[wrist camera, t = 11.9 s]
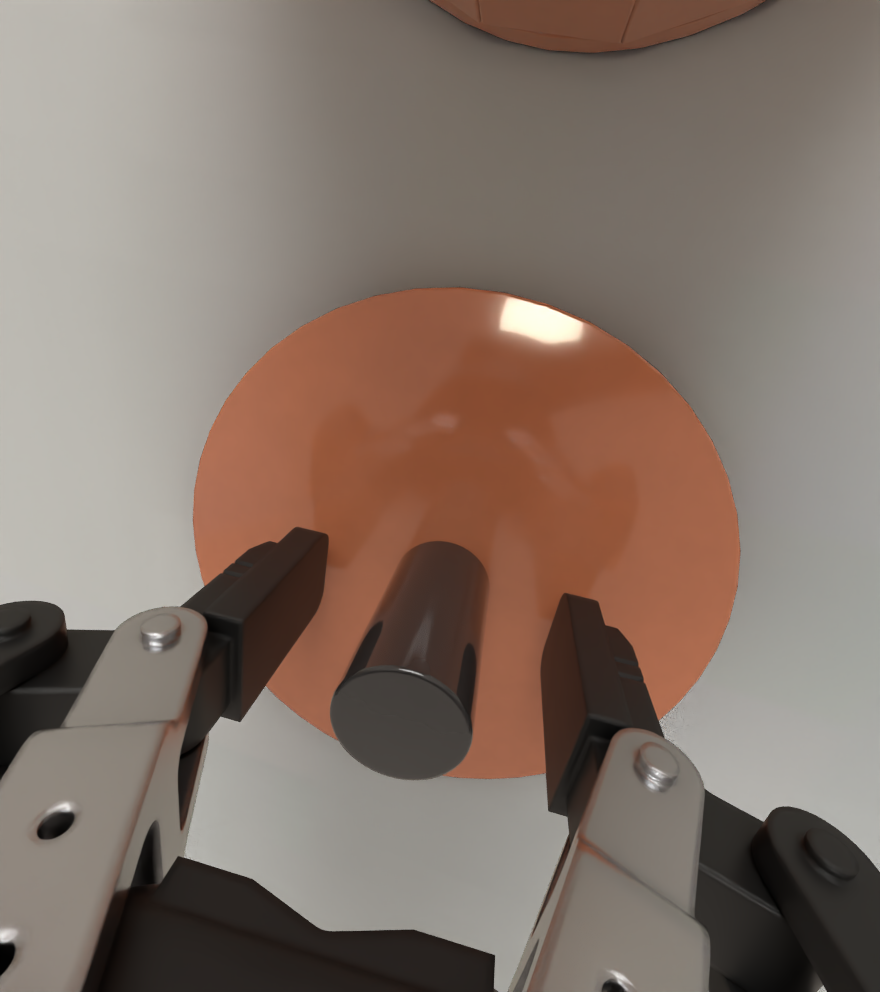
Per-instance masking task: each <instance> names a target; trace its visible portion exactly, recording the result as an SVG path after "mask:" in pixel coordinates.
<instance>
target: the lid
mask: <svg viewBox="0 0 880 992" xmlns="http://www.w3.org/2000/svg"><path fill="white" fill-rule="evenodd" d="M193 527H194V538H195V548H196V554H197V558H198V563H199V567H200V572H201V576H202V580H203V583H204V585H205V586H206V585H207V584H208V583H209V582H210V581H212V580H213V579H214V578H215V577H216V576H218V575H219V574H220V573H223V571H224V570H225V569H226V568H227V567H228V566H229V565H231V564H232V563H235V560H237V559H238V558H239V557H240V556H241V555H242V554H244V553H245V552H246V551H247V550H248V549H250V548H253V547H255V546H258V545H260V544H263V543H265V542H268V541H272V542H276V543H278V542H279V541H280V540H281V539H282V538H284V537H285V536H286V535H287V534H288V533H289V532H290V531H291V530H292V529H293V528H295V527H301V528H306V529H310V530H314V531H318V532H322V533H326V534H327V535H328V537H329V546H328V556H327V565H326V575H325V585H324V592H323V596H322V600H321V603H320V606H319V608H318V610H317V612H316V614H315V615H314V617H313V618H312V620H311V621H310V623H309V624H308V625H307V627H306V628H305V630H304V631H303V633H302V634H301V636H300V637H299V638H298V640H297V641H296V643H295V644H294V646H293V647H292V648H291V650H290V651H289V653H288V654H287V656H286V657H285V658H284V660H283V661H282V663H281V664H280V666H279V667H278V669H277V670H276V671H275V673H274V674H273V676H272V677H271V679H270V680H269V681H268V683H267V684H266V687H267V688H268V689H269V690H270V691H271V692H272V693H273V694H274V695H275V696H276V697H277V698H278V699H279V700H281V701H282V702H283V703H284V704H285V705H287V706H288V707H289V708H290V709H291V710H293V711H294V712H295V713H296V714H297V715H299V716H300V717H301V718H303V719H304V720H306V721H307V722H309V723H310V724H312V725H313V726H315V727H316V728H317V729H319V730H320V731H322V732H323V733H325V734H327V735H329V736H330V737H332V738H334V739H336V740H338V741H339V742H340V744H341V745H342V746H343V748H344V749H345V750H346V751H347V752H348V753H349V754H350V755H351V756H352V757H353V758H354V759H356V760H357V761H358V762H360V763H361V764H363V765H364V766H366V767H368V768H369V769H371V770H373V771H375V772H378V773H380V774H383V775H386V776H389V777H393V778H397V779H403V780H426V779H432V778H436V777H439V776H450V777H457V778H474V779H500V778H518V777H525V776H531V775H538V774H544V773H546V763H545V746H544V729H543V712H542V695H541V678H540V667H541V659H542V653H543V649H544V646H545V643H546V640H547V637H548V634H549V631H550V628H551V625H552V622H553V619H554V616H555V613H556V610H557V607H558V604H559V601H560V599H561V597H562V595H563V594H564V593H569V594H573V595H577V596H581V597H585V598H589V599H593V600H597V601H598V602H599V605H600V609H601V612H602V616H603V619H604V623H605V625H607V626H611V627H615V628H618V629H619V630H620V632H621V633H622V634H623V635H624V636H625V638H626V639H627V640H628V641H629V642H630V644H631V645H632V646H633V649H634V652H635V655H636V658H637V660H638V663H639V665H638V667H639V668H640V669H641V672H642V675H643V678H644V683H646V686H647V689H648V692H649V695H650V698H651V701H652V704H653V706H654V709H655V712H656V715H657V718H658V721H659V720H660V719H661V718H662V717H663V716H664V715H666V714H667V713H668V712H669V711H670V710H671V709H672V708H673V707H674V706H675V705H677V704H678V703H679V702H680V701H681V699H682V698H683V697H684V696H685V695H686V693H687V692H688V691H689V690H690V689H691V687H692V686H693V685H694V684H695V683H696V681H697V680H698V679H699V678H700V676H701V675H702V673H703V671H704V670H705V668H706V667H707V665H708V663H709V662H710V660H711V658H712V657H713V655H714V654H715V652H716V650H717V648H718V646H719V643H720V641H721V639H722V636H723V634H724V631H725V629H726V627H727V624H728V622H729V619H730V615H731V611H732V607H733V603H734V599H735V595H736V591H737V587H738V575H739V563H740V540H739V528H738V516H737V511H736V507H735V503H734V499H733V495H732V491H731V487H730V483H729V479H728V476H727V474H726V471H725V469H724V467H723V464H722V462H721V460H720V457H719V455H718V453H717V450H716V448H715V446H714V444H713V441H712V440H711V438H710V436H709V435H708V433H707V432H706V430H705V429H704V427H703V425H702V424H701V422H700V421H699V419H698V417H697V416H696V414H695V413H694V411H693V410H692V408H691V406H690V405H689V404H688V403H687V402H686V401H685V400H684V398H683V397H682V396H681V395H680V394H679V393H678V392H677V390H676V389H675V388H674V387H673V386H672V385H671V384H670V382H669V381H668V380H667V379H666V378H665V377H664V376H663V374H662V373H660V372H659V371H658V370H657V369H656V368H654V367H653V366H652V365H651V364H650V363H648V362H647V361H646V360H645V359H644V358H643V357H641V356H640V355H639V354H638V353H637V352H635V351H634V350H633V349H632V348H631V347H629V346H628V345H627V344H625V343H623V342H622V341H620V340H619V339H617V338H615V337H614V336H612V335H610V334H609V333H607V332H606V331H604V330H602V329H601V328H599V327H597V326H596V325H594V324H592V323H591V322H589V321H587V320H584V319H582V318H580V317H577V316H575V315H573V314H570V313H568V312H566V311H563V310H561V309H559V308H556V307H554V306H552V305H549V304H546V303H542V302H539V301H535V300H531V299H528V298H524V297H520V296H516V295H513V294H509V293H505V292H497V291H489V290H480V289H472V288H464V287H446V288H415V289H410V290H404V291H398V292H392V293H387V294H381V295H375V296H372V297H369V298H366V299H363V300H360V301H357V302H354V303H351V304H348V305H345V306H342V307H339V308H336V309H334V310H332V311H330V312H328V313H326V314H324V315H322V316H321V317H319V318H317V319H315V320H313V321H311V322H309V323H307V324H305V325H303V326H301V327H300V328H298V329H297V330H296V331H294V332H293V333H291V334H290V335H289V336H287V337H286V338H285V339H283V340H282V341H280V342H279V343H278V344H276V345H275V346H273V347H272V348H271V349H270V350H269V351H268V352H267V353H266V354H265V355H264V356H263V357H262V358H261V359H260V360H259V361H258V362H257V363H256V364H255V365H254V366H253V367H252V368H251V369H250V370H249V371H248V372H247V373H246V374H245V375H244V377H243V378H242V379H241V381H240V382H239V383H238V385H237V386H236V387H235V389H234V390H233V391H232V393H231V394H230V395H229V397H228V398H227V400H226V401H225V403H224V405H223V407H222V409H221V411H220V412H219V414H218V416H217V418H216V420H215V422H214V424H213V426H212V428H211V430H210V432H209V435H208V438H207V441H206V444H205V447H204V450H203V453H202V456H201V458H200V462H199V468H198V473H197V478H196V484H195V489H194V507H193Z"/></svg>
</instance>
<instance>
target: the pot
mask: <svg viewBox="0 0 880 992" xmlns="http://www.w3.org/2000/svg"><path fill="white" fill-rule="evenodd" d="M430 1H432V2H433V3H435V4H436V5H438V6H439V7H441V8H442V9H444V10H446V11H447V12H449V13H450V14H452V15H453V16H455V17H457V18H458V19H460V20H461V21H463V22H464V23H467V24H469V25H471V26H474V27H476V28H478V29H481V30H483V31H485V32H488V33H490V34H492V35H495V36H497V37H499V38H502V39H504V40H508V41H512V42H516V43H520V44H525V45H529V46H533V47H537V48H541V49H546V50H556V51H571V52H587V53H596V52H606V51H616V50H626V49H637V48H643V47H647V46H651V45H655V44H658V43H662V42H666V41H670V40H674V39H678V38H682V37H686V36H690V35H692V34H695V33H697V32H700V31H702V30H705V29H707V28H710V27H712V26H714V25H717V24H719V23H722V22H724V21H727V20H729V19H732V18H734V17H737V16H739V15H741V14H743V13H745V12H747V11H749V10H750V9H752V8H754V7H756V6H758V5H759V4H761V3H763V2H765V1H767V0H430Z"/></svg>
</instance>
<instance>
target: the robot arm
mask: <svg viewBox="0 0 880 992" xmlns="http://www.w3.org/2000/svg"><path fill="white" fill-rule="evenodd" d="M328 546H329V537H328V535H327V534H326V533H322V532H318V531H314V530H310V529H306V528H301V527H295V528H293V529H292V530H291V531H290V532H289V533H288V534H287V535H286V536H285V537H284V538H282V539H281V540H280V541H279V542H278V543H276V542H272V541H268V542H265V543H263V544H260V545H258V546H255V547H253V548H250V549H248V550H247V551H246V552H245V553H244V554H242V555H241V556H240V557H239V558H238V559H237V560H235V563H232V564H231V565H229V566H228V567H227V568H226V569H225V570H224V571H223V573H220V574H219V575H218V576H216V577H215V578H214V579H213V580H212V581H210V582H209V583H208V584H207V585H206V586H204V587H203V588H202V589H201V590H200V591H199V592H197V593H196V594H195V595H194V596H193V597H191V598H190V599H189V600H188V601H187V602H185V603H184V604H183V605H182V606H181V607H161V608H155V609H151V610H147V611H144V612H141V613H139V614H136V615H134V616H132V617H131V618H129V619H127V620H126V621H124V622H123V623H122V624H121V625H120V626H119V627H118V628H117V629H116V630H67V628H66V622H65V615H64V613H63V611H62V610H61V608H59V607H58V606H56V605H54V604H51V603H48V602H43V601H20V602H13V603H7V604H3V605H0V992H498V991H497V990H495V989H494V967H495V955H493V954H489V953H486V952H483V951H480V950H477V949H474V948H470V947H467V946H464V945H461V944H458V943H454V942H451V941H448V940H445V939H442V938H438V937H435V936H432V935H429V934H426V933H423V932H419V931H416V930H379V931H335V932H332V931H325V930H322V929H319V928H318V927H316V926H314V925H313V924H312V923H310V922H309V921H308V920H306V919H305V918H304V917H302V916H301V915H300V914H298V913H297V912H296V911H294V910H293V909H292V908H290V907H289V906H288V905H286V904H285V903H284V902H282V901H281V900H280V899H278V898H277V897H276V896H274V895H273V894H272V893H270V892H269V891H268V890H266V889H265V888H264V887H262V886H261V885H260V884H258V883H257V882H256V881H254V880H253V879H250V878H247V877H244V876H241V875H238V874H235V873H231V872H228V871H225V870H222V869H219V868H215V867H212V866H209V865H206V864H203V863H199V862H196V861H193V860H190V859H187V858H184V854H185V848H186V843H187V838H188V833H189V829H190V824H191V820H192V815H193V811H194V806H195V802H196V797H197V793H198V789H199V784H200V780H201V775H202V771H203V766H204V762H205V757H206V753H207V748H208V743H209V731H210V730H211V728H212V727H213V726H214V724H215V723H216V722H217V720H218V719H219V718H220V716H221V717H224V718H228V719H231V720H235V721H238V722H241V720H242V719H243V717H244V716H245V714H246V713H247V712H248V710H249V709H250V707H251V706H252V704H253V703H254V702H255V700H256V699H257V697H258V696H259V694H260V693H261V691H262V690H263V689H264V687H265V686H266V684H267V683H268V681H269V680H270V679H271V677H272V676H273V674H274V673H275V671H276V670H277V669H278V667H279V666H280V664H281V663H282V661H283V660H284V658H285V657H286V656H287V654H288V653H289V651H290V650H291V648H292V647H293V646H294V644H295V643H296V641H297V640H298V638H299V637H300V636H301V634H302V633H303V631H304V630H305V628H306V627H307V625H308V624H309V623H310V621H311V620H312V618H313V617H314V615H315V614H316V612H317V610H318V608H319V606H320V603H321V600H322V596H323V592H324V585H325V575H326V565H327V556H328ZM638 665H639V663H638V660H637V658H636V655H635V652H634V649H633V646H632V645H631V644H630V642H629V641H628V640H627V639H626V638H625V636H624V635H623V634H622V633H621V632H620V630H619V629H618V628H615V627H611V626H607V625H605V623H604V619H603V616H602V612H601V609H600V605H599V602H598V601H597V600H593V599H589V598H585V597H581V596H577V595H573V594H569V593H564V594H563V595H562V597H561V599H560V601H559V604H558V607H557V610H556V613H555V616H554V619H553V622H552V625H551V628H550V631H549V634H548V637H547V640H546V643H545V646H544V649H543V653H542V659H541V667H540V678H541V695H542V712H543V729H544V746H545V763H546V780H547V797H548V811H550V812H553V813H557V814H560V815H564V816H567V817H568V826H569V835H568V837H567V839H566V842H565V844H564V846H563V848H562V851H561V854H560V856H559V859H558V862H557V864H556V867H555V870H554V872H553V875H552V878H551V880H550V883H549V886H548V888H547V891H546V894H545V896H544V899H543V902H542V904H541V907H540V910H539V912H538V915H537V918H536V920H535V923H534V926H533V928H532V931H531V934H530V936H529V939H528V942H527V944H526V947H525V949H524V952H523V955H522V957H521V960H520V962H519V965H518V967H517V970H516V972H515V974H514V977H513V979H512V982H511V984H510V986H509V989H508V991H507V992H708V990H709V992H817V991H818V990H819V989H820V988H821V987H822V986H823V985H824V987H825V989H826V990H827V992H880V872H879V871H878V869H877V868H876V867H875V866H874V864H873V863H872V862H871V861H870V859H869V858H868V857H867V856H866V855H865V854H864V853H863V852H862V851H861V850H860V849H859V847H858V846H857V845H856V844H854V843H853V842H852V841H851V840H850V839H849V838H848V837H847V836H845V835H844V834H843V833H842V832H840V831H839V830H838V829H836V828H835V827H834V826H832V825H831V824H829V823H828V822H826V821H824V820H823V819H821V818H819V817H817V816H816V815H813V814H811V813H809V812H807V811H804V810H801V809H798V808H793V807H778V808H776V809H774V810H772V812H771V813H770V814H769V816H768V817H767V818H766V820H765V821H764V822H762V821H761V820H759V819H757V818H755V817H753V816H751V815H749V814H748V813H746V812H744V811H742V810H740V809H738V808H736V807H735V806H733V805H731V804H729V803H727V802H725V801H723V800H722V799H720V798H718V797H716V796H715V795H713V794H711V793H710V792H708V791H707V790H706V789H705V788H704V784H703V781H702V778H701V776H700V774H699V772H698V770H697V769H696V767H695V766H694V764H693V763H692V762H691V760H690V759H689V758H688V757H687V756H686V755H685V754H684V753H683V752H682V751H681V750H680V749H679V748H678V747H676V746H675V745H674V744H672V743H671V742H670V741H668V740H667V739H665V738H664V735H663V732H662V729H661V727H660V724H659V721H658V718H657V715H656V712H655V709H654V706H653V704H652V701H651V698H650V695H649V692H648V689H647V686H646V683H644V678H643V675H642V672H641V669H640V668H639V667H638Z"/></svg>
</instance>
